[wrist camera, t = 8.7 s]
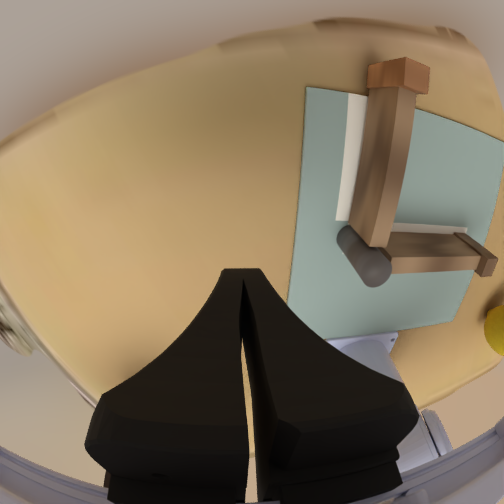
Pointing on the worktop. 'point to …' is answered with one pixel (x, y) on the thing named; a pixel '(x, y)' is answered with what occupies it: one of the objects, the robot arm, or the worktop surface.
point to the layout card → (406, 218)
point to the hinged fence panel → (385, 146)
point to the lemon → (495, 329)
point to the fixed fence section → (414, 255)
